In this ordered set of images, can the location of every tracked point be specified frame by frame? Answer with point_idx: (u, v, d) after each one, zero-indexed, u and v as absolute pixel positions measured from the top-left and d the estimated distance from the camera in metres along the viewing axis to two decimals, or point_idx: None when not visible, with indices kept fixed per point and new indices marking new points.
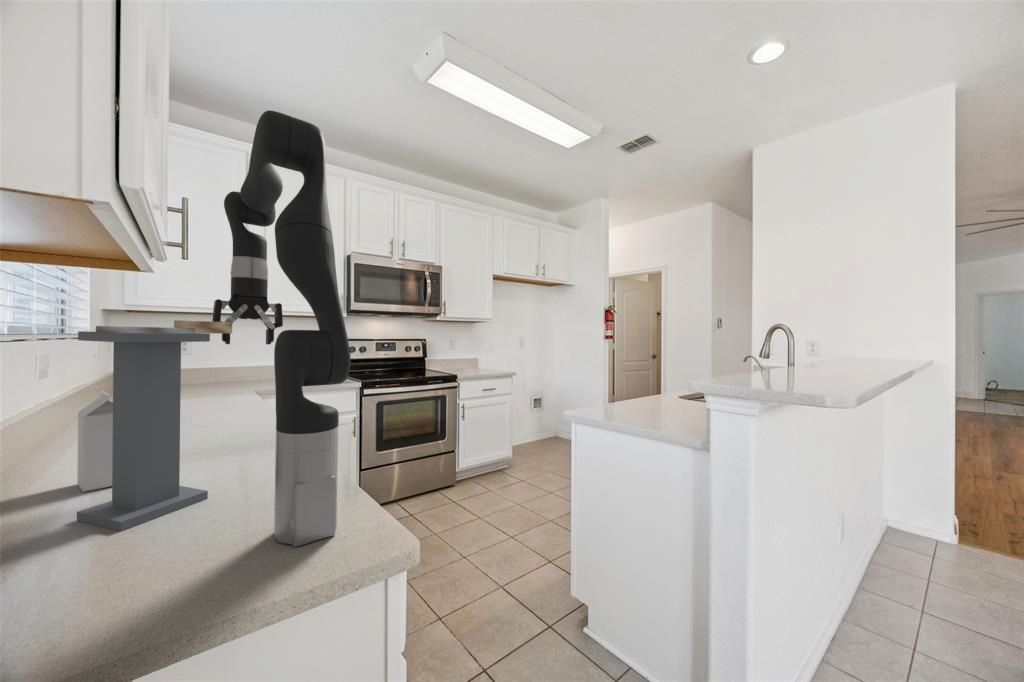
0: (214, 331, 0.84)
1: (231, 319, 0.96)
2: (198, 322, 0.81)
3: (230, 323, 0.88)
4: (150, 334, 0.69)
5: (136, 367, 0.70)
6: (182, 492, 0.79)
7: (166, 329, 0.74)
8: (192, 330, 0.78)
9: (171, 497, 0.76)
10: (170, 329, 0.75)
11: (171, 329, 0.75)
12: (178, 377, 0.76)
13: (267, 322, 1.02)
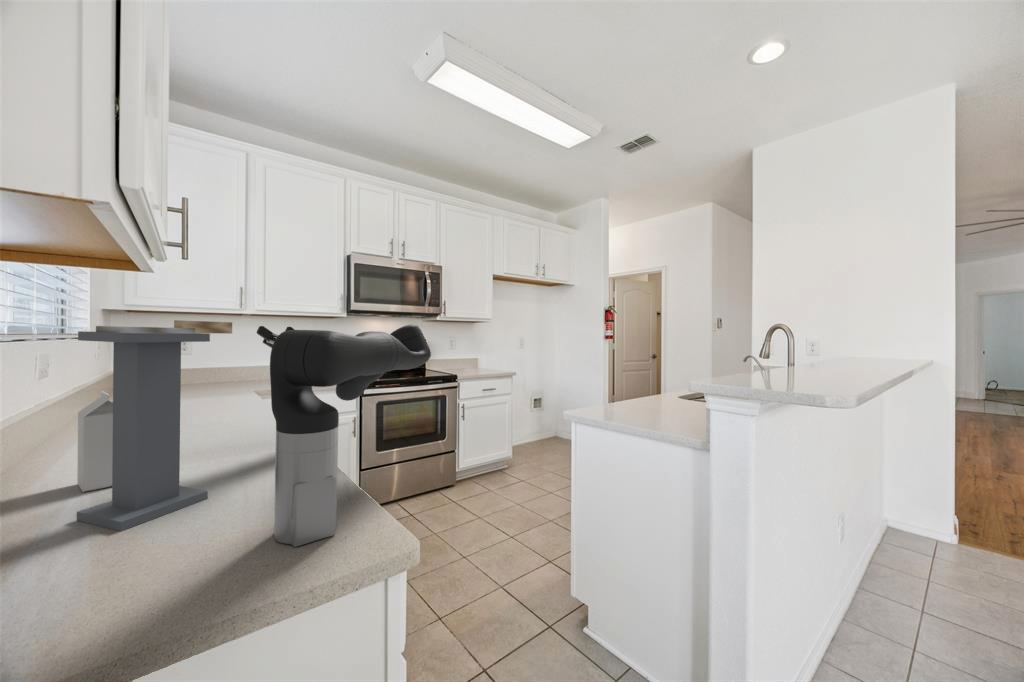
0: (214, 331, 0.84)
1: None
2: (198, 322, 0.81)
3: (230, 323, 0.88)
4: (150, 334, 0.69)
5: (136, 367, 0.70)
6: (182, 492, 0.79)
7: (166, 329, 0.74)
8: (192, 330, 0.78)
9: (171, 497, 0.76)
10: (170, 329, 0.75)
11: (171, 329, 0.75)
12: (178, 377, 0.76)
13: None
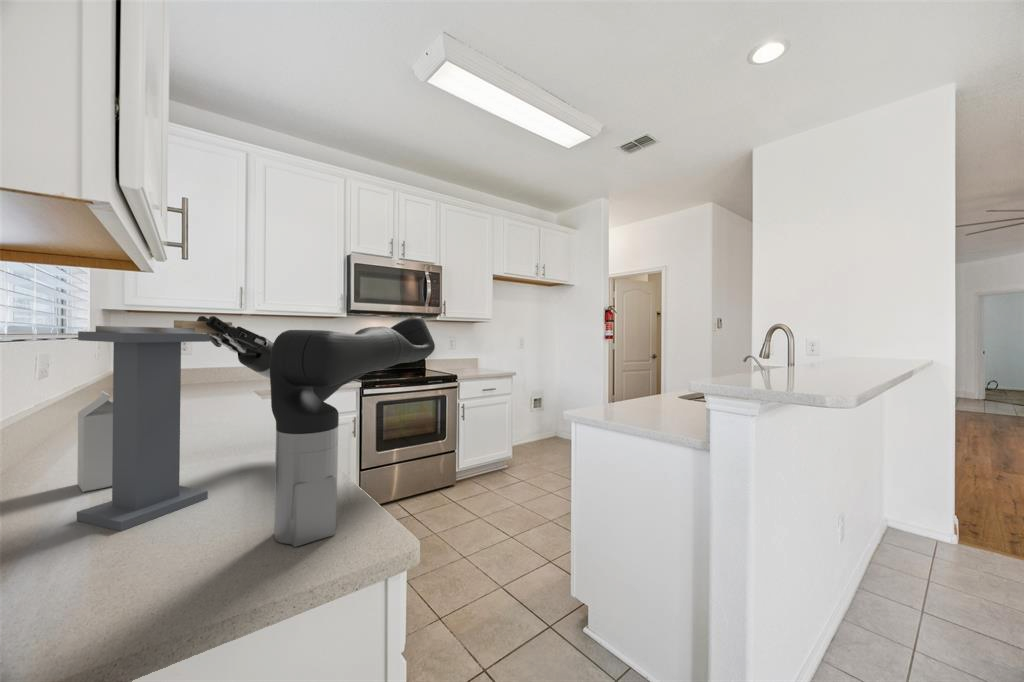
0: (214, 331, 0.84)
1: None
2: (198, 322, 0.81)
3: (230, 323, 0.88)
4: (150, 334, 0.69)
5: (136, 367, 0.70)
6: (182, 492, 0.79)
7: (166, 329, 0.74)
8: (192, 330, 0.78)
9: (171, 497, 0.76)
10: (170, 329, 0.75)
11: (171, 329, 0.75)
12: (178, 377, 0.76)
13: None
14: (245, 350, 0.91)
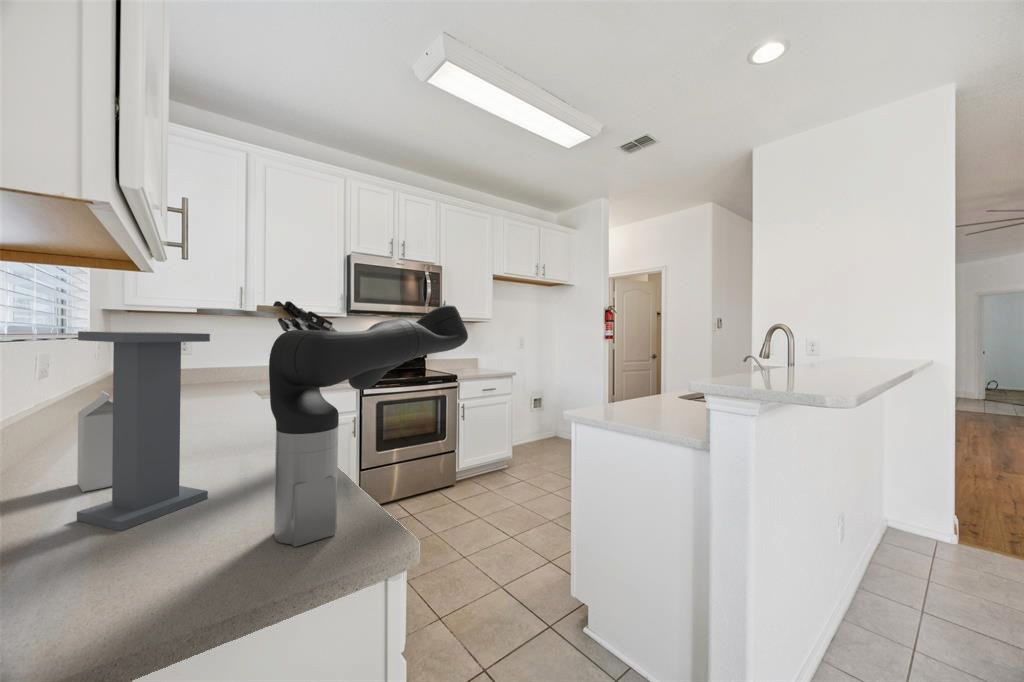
0: (289, 316, 0.91)
1: None
2: (277, 307, 0.88)
3: (301, 309, 0.94)
4: (150, 334, 0.69)
5: (136, 367, 0.70)
6: (182, 492, 0.79)
7: (255, 312, 0.81)
8: (274, 314, 0.85)
9: (171, 497, 0.76)
10: (258, 312, 0.81)
11: (259, 312, 0.81)
12: (178, 377, 0.76)
13: None
14: None
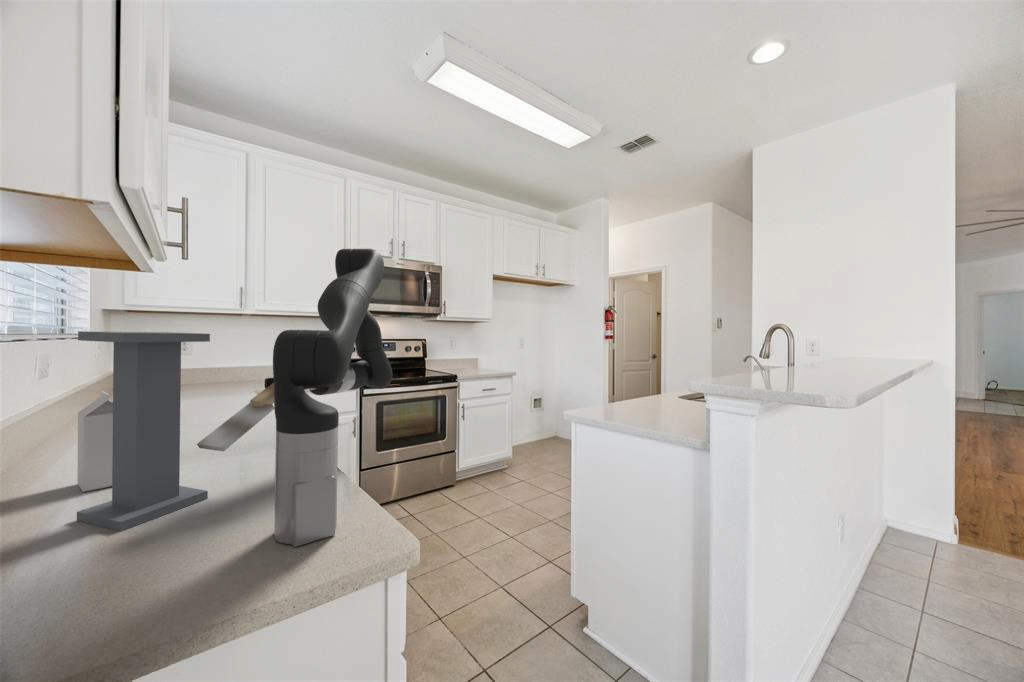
0: None
1: None
2: (270, 393, 0.84)
3: None
4: (150, 334, 0.69)
5: (136, 367, 0.70)
6: (182, 492, 0.79)
7: (253, 422, 0.78)
8: (271, 408, 0.82)
9: (171, 497, 0.76)
10: (255, 420, 0.79)
11: (256, 419, 0.79)
12: (178, 377, 0.76)
13: None
14: (315, 388, 0.94)
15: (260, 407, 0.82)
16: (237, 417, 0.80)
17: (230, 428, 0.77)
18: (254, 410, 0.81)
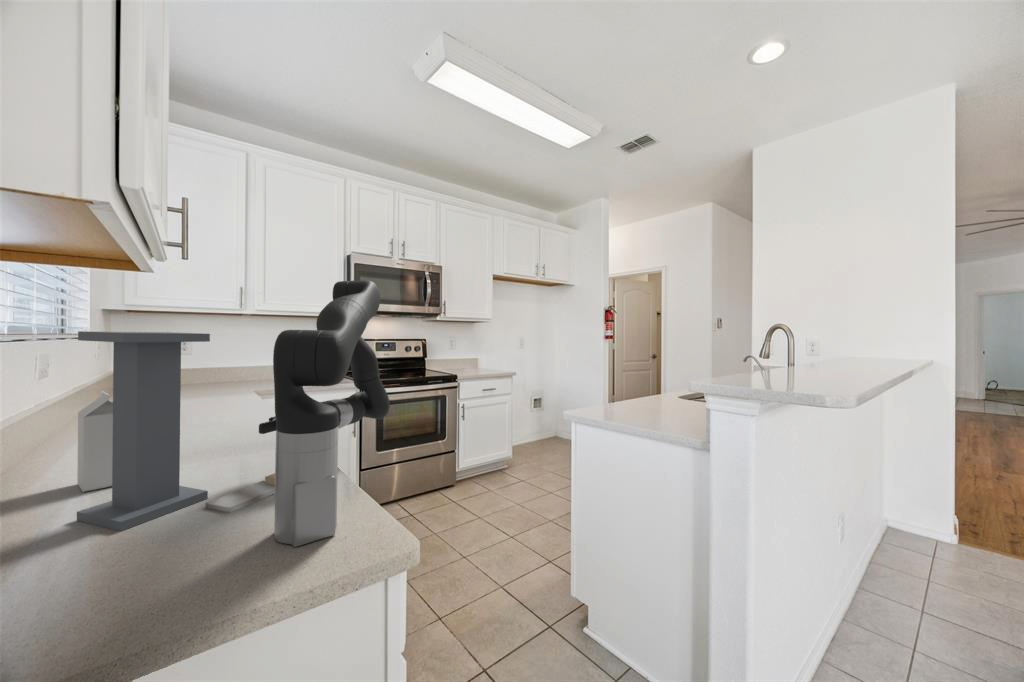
0: None
1: None
2: None
3: None
4: (150, 334, 0.69)
5: (136, 367, 0.70)
6: (182, 492, 0.79)
7: (263, 495, 0.81)
8: None
9: (171, 497, 0.76)
10: (266, 493, 0.81)
11: (267, 493, 0.81)
12: (178, 377, 0.76)
13: None
14: None
15: (272, 485, 0.85)
16: (248, 489, 0.82)
17: (241, 495, 0.79)
18: (266, 486, 0.84)
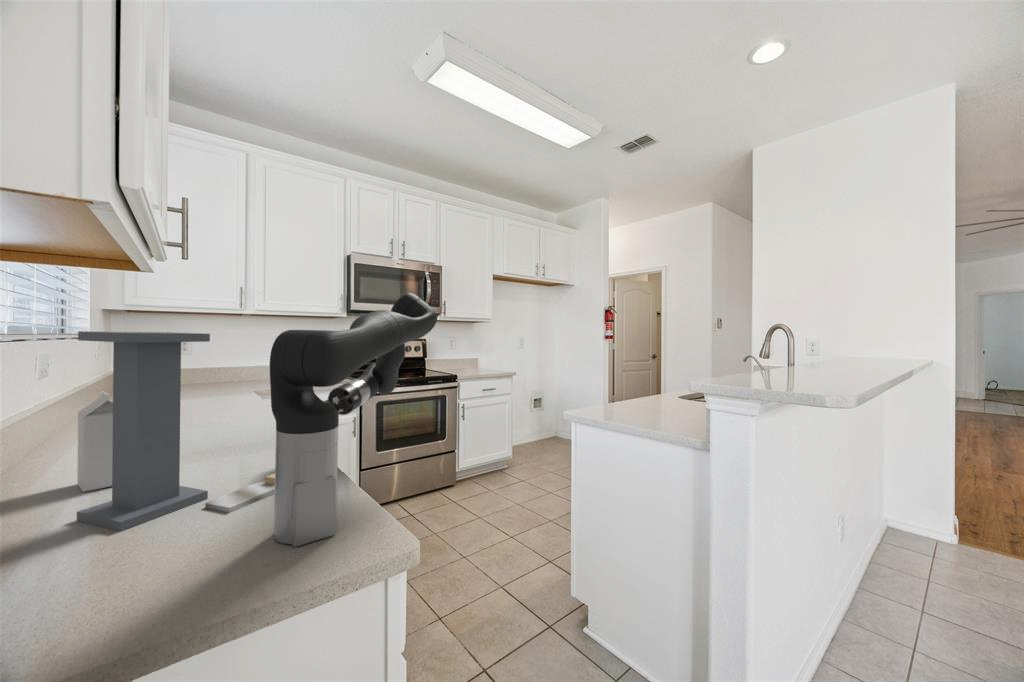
0: None
1: None
2: None
3: None
4: (150, 334, 0.69)
5: (136, 367, 0.70)
6: (182, 492, 0.79)
7: (263, 495, 0.81)
8: None
9: (171, 497, 0.76)
10: (266, 493, 0.81)
11: (267, 493, 0.81)
12: (178, 377, 0.76)
13: (335, 401, 1.01)
14: None
15: (272, 485, 0.85)
16: (248, 489, 0.82)
17: (241, 495, 0.79)
18: (266, 486, 0.84)
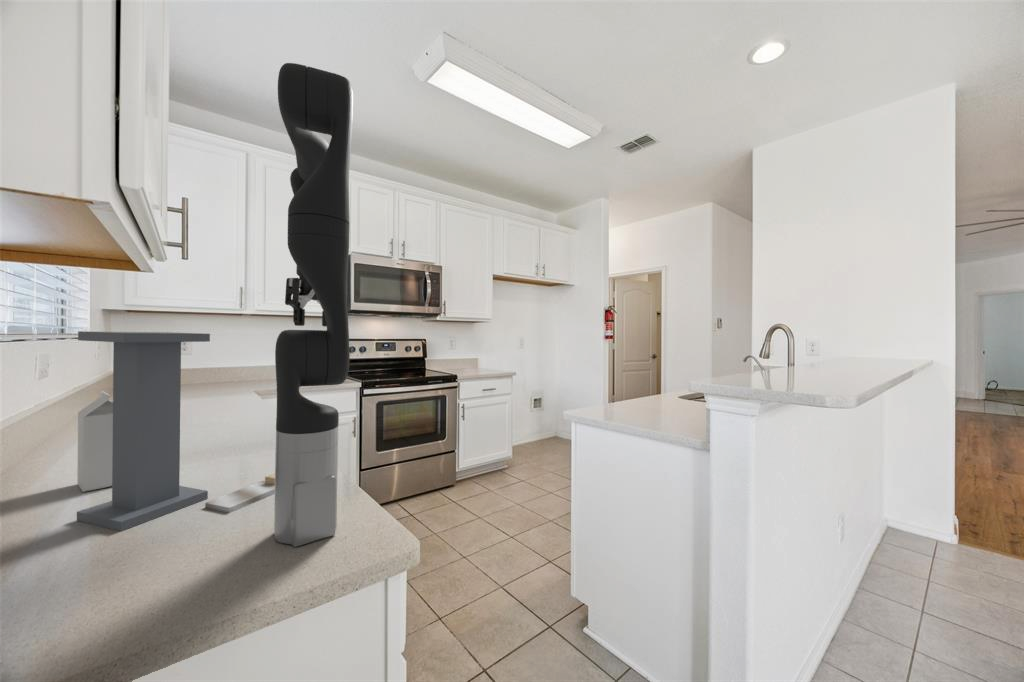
0: None
1: None
2: None
3: None
4: (150, 334, 0.69)
5: (136, 367, 0.70)
6: (182, 492, 0.79)
7: (263, 495, 0.81)
8: None
9: (171, 497, 0.76)
10: (266, 493, 0.81)
11: (267, 493, 0.81)
12: (178, 377, 0.76)
13: None
14: None
15: (272, 485, 0.85)
16: (248, 489, 0.82)
17: (241, 495, 0.79)
18: (266, 486, 0.84)
